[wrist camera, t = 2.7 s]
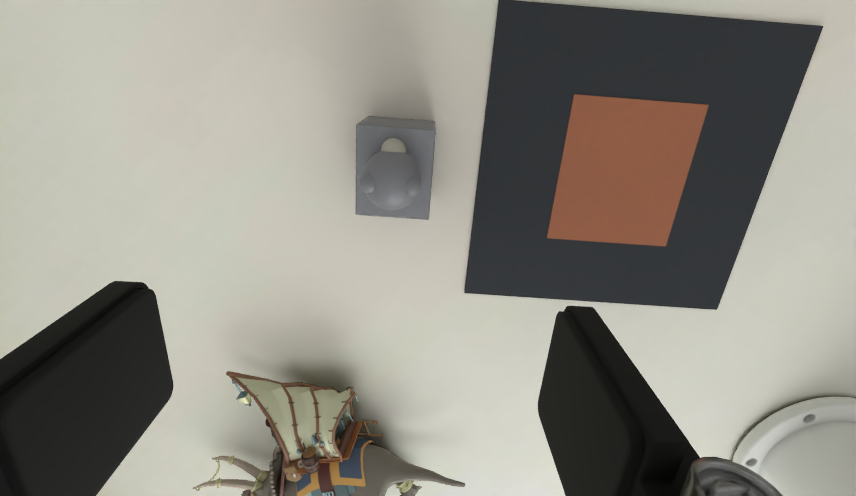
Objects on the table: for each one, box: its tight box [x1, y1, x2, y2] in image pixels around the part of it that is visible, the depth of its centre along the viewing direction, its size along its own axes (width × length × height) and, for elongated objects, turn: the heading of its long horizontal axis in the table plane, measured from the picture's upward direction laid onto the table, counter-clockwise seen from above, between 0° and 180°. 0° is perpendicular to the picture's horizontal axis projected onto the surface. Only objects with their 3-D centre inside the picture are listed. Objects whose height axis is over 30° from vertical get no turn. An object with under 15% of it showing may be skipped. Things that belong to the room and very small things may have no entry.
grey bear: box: [356, 116, 435, 220], centre depth 23 cm, size 4×5×7 cm
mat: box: [465, 0, 823, 310], centre depth 27 cm, size 18×18×1 cm
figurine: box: [193, 371, 465, 496], centre depth 32 cm, size 20×6×17 cm
